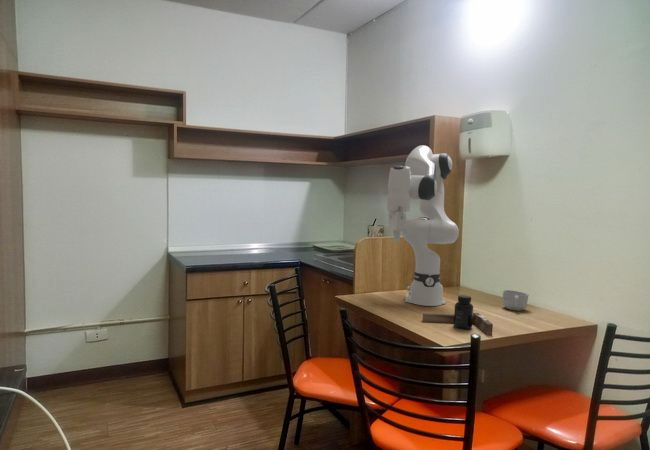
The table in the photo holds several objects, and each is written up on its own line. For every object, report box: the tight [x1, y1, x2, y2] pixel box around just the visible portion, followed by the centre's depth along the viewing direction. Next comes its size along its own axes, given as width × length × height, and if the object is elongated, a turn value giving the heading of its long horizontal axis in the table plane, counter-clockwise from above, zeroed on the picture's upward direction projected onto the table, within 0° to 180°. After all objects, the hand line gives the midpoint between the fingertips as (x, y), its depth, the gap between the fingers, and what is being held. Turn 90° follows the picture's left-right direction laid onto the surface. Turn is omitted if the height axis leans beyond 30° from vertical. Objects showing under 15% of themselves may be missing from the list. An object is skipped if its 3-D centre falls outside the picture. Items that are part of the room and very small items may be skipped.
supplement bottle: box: [453, 294, 474, 330], centre depth 174 cm, size 7×7×12 cm
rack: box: [422, 312, 494, 336], centre depth 174 cm, size 16×22×4 cm
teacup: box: [502, 289, 529, 312], centre depth 207 cm, size 14×11×8 cm
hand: (396, 241), depth 181 cm, fingers closed
